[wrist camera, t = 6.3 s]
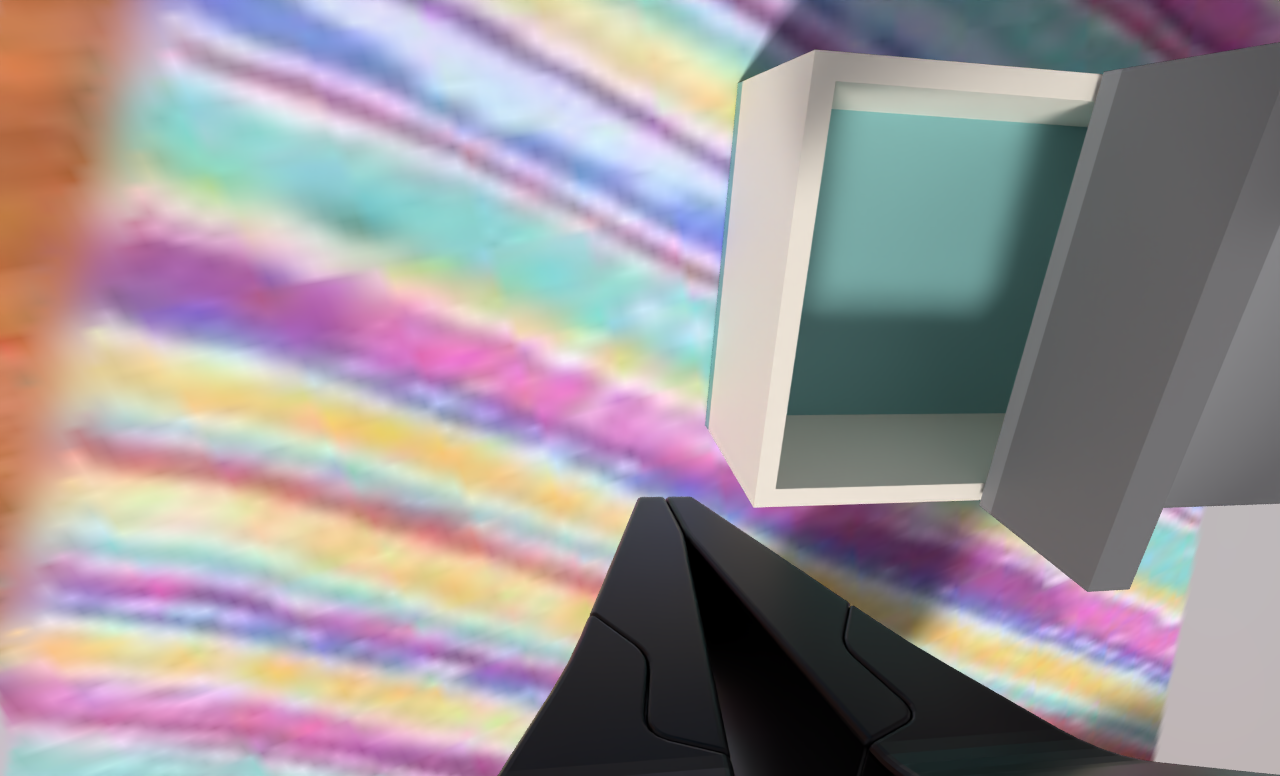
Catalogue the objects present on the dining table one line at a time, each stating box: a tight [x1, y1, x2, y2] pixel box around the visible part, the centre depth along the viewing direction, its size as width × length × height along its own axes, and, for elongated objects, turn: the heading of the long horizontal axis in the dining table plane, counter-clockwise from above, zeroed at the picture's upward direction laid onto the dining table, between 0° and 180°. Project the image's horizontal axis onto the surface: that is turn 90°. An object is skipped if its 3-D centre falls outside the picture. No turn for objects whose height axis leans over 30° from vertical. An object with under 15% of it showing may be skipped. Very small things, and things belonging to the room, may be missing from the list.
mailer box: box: [705, 50, 1103, 507], centre depth 19 cm, size 12×14×6 cm
